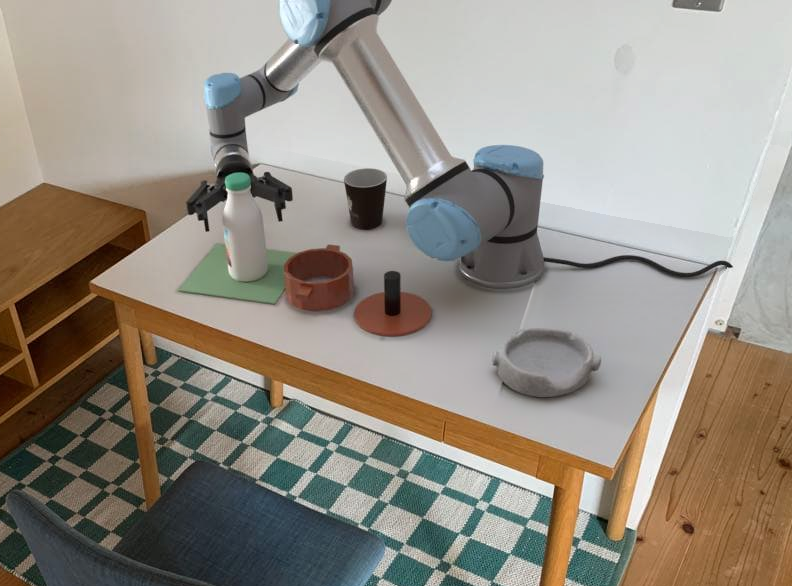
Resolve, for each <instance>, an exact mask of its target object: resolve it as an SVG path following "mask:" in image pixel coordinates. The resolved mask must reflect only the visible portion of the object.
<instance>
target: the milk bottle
mask: <svg viewBox="0 0 792 586" xmlns="http://www.w3.org/2000/svg"><path fill="white" fill-rule="evenodd" d="M250 184H251V181H250V176H249V175H248V174H246V173H233V174H230V175H228V176H227V177H226V178H225V185H226V191H227V192H228V198H227V200H226V201H225V202H226V203H225V205H224V209H223V212H222V231H223V240H224V245H225V248H226V255H227V263H228V270H229V274H230V276H231V277H232V278H233V279H235V280H237V281H242V282H249V281H254V280H258V279H260V278H262V277H263V276H265V274H266V273H267V271H268V261H267V251H266V250H267V244H266V243H267V242H266V233H265V225H264V220H263V215H262V211H261V209H260V206H259V205H258V203H257V201H256V200H255V198H253V197H252V194H251V192H250V188H251V185H250Z"/></svg>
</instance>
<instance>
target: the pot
mask: <svg viewBox="0 0 792 586" xmlns="http://www.w3.org/2000/svg"><path fill="white" fill-rule="evenodd" d="M296 253H297V254H295V255H294V256H292V257H290V258H289V259H288V260H287V262H286V263H285V264H284V276H285V286H286V289H285V295H286V300H287V301H288V302H289V303H290V305H292V307H295V308H298V309H300V310H302V311H309V312H324V311H331V310H334V309H337V308H340V307H342V306H344V305H345V304H347V303H348V302H350V300H351V299H352V297H353V296H354V294H355V288H354V266H353V265H354V264H353V260H352V259H353V258H351V257H350V256H349V255H348V254H347V253H346V252H344V251H341V246H340V245H337V244H327V245H326V246H325V247H322V248H310V249H306V250H303V251H300V252H296ZM323 277H325V278H331V279H328V280H325V281H324V280H321V281H309V280H310V279H312V278H323Z"/></svg>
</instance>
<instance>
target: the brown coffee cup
mask: <svg viewBox="0 0 792 586" xmlns="http://www.w3.org/2000/svg"><path fill="white" fill-rule="evenodd" d="M387 182H388V175H387V173H386V172H384V171H383V170H381V169H377V168H369V167H367V168H366V167H365V168H358V169H354V170H351V171H348V173H346V174H345V175H344V177H343V183H344V189H345V195H346V201H347V206H348V212H349V213H348V214H349V218H350V224H351V226H352V228H354V229H356V230H360V231H369V230H374V229H377V228H379V227H381V225H382V224H383V217H384V211H385V209H384V208H385V200H386V191H387Z"/></svg>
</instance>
